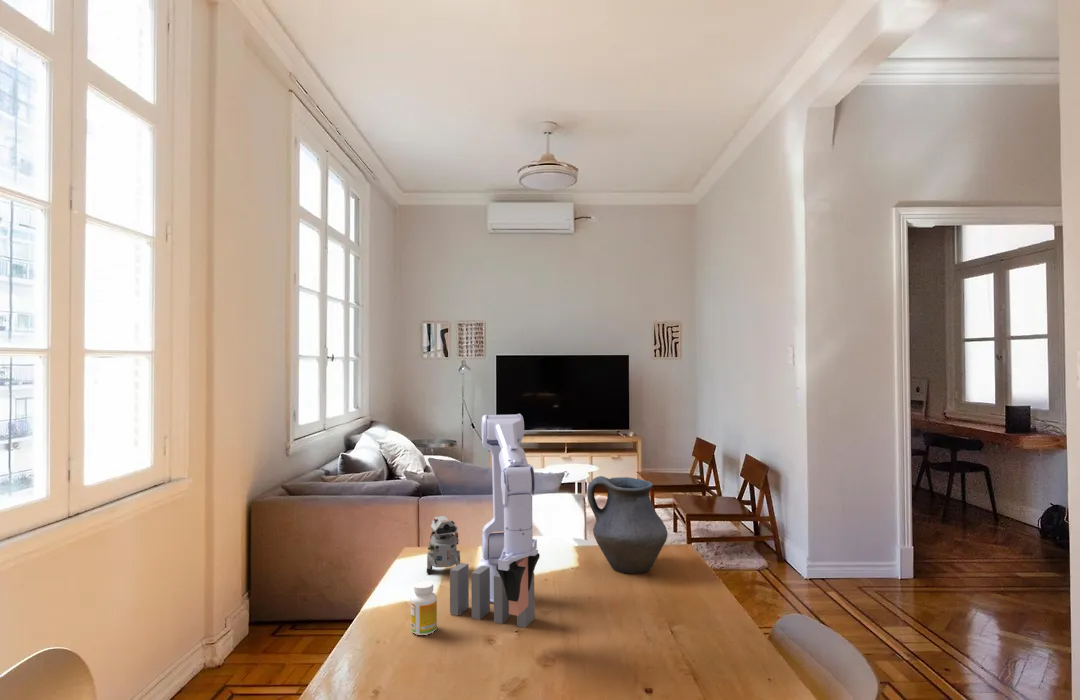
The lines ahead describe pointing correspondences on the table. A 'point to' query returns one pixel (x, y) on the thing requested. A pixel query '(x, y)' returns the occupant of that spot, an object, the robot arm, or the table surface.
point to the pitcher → (627, 524)
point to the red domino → (521, 591)
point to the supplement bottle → (423, 609)
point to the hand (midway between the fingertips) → (518, 595)
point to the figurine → (443, 544)
